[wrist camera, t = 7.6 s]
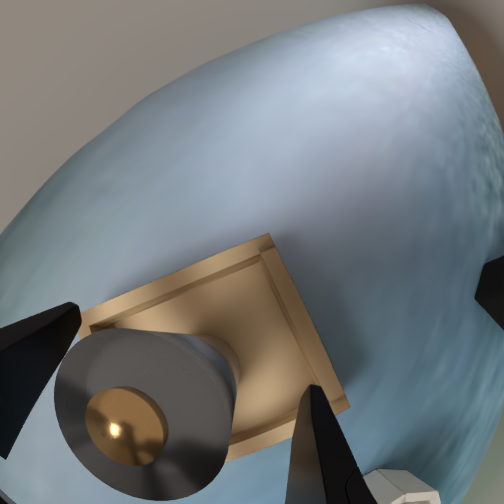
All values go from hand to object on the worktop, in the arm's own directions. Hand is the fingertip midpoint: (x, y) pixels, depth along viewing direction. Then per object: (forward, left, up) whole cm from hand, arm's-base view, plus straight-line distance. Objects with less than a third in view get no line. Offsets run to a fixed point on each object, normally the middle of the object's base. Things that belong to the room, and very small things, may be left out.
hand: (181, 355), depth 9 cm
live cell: (-1, -1, -9) cm, 9 cm away
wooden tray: (-1, -1, -10) cm, 10 cm away
